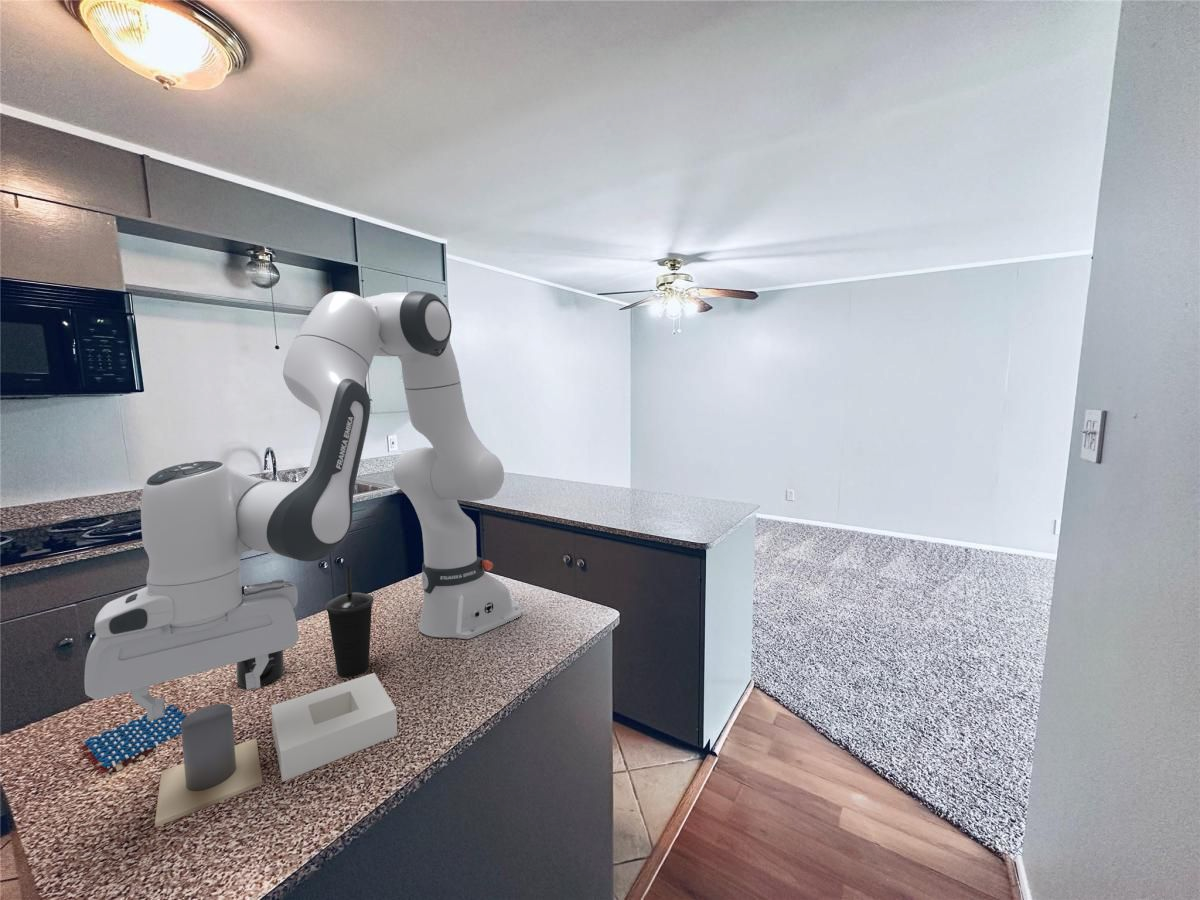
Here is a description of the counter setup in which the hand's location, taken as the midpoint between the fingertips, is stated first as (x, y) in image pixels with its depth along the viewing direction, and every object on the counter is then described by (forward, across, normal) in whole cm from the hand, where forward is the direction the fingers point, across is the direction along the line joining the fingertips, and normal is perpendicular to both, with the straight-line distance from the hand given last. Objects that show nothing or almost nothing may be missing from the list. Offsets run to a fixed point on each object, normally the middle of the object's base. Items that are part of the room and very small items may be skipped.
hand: (207, 701), depth 61 cm
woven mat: (+12, +8, -17) cm, 22 cm away
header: (+11, -14, 0) cm, 18 cm away
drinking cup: (+12, -20, -17) cm, 28 cm away
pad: (+11, 0, 0) cm, 11 cm away
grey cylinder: (+10, 0, 0) cm, 10 cm away
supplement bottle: (+12, -7, -26) cm, 29 cm away
